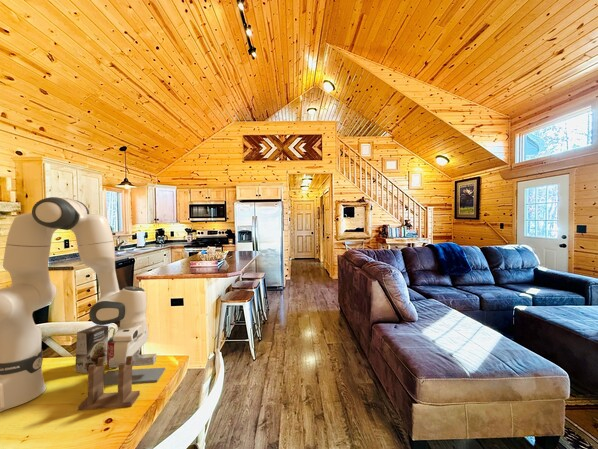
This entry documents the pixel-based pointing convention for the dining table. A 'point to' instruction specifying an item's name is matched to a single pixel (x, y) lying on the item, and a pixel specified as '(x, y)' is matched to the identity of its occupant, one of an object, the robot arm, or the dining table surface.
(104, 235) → the robot arm
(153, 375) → the rubber mat
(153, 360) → the beige wooden bar
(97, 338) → the coffee box
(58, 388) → the dining table surface
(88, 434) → the dining table surface
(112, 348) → the beverage can
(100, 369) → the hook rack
